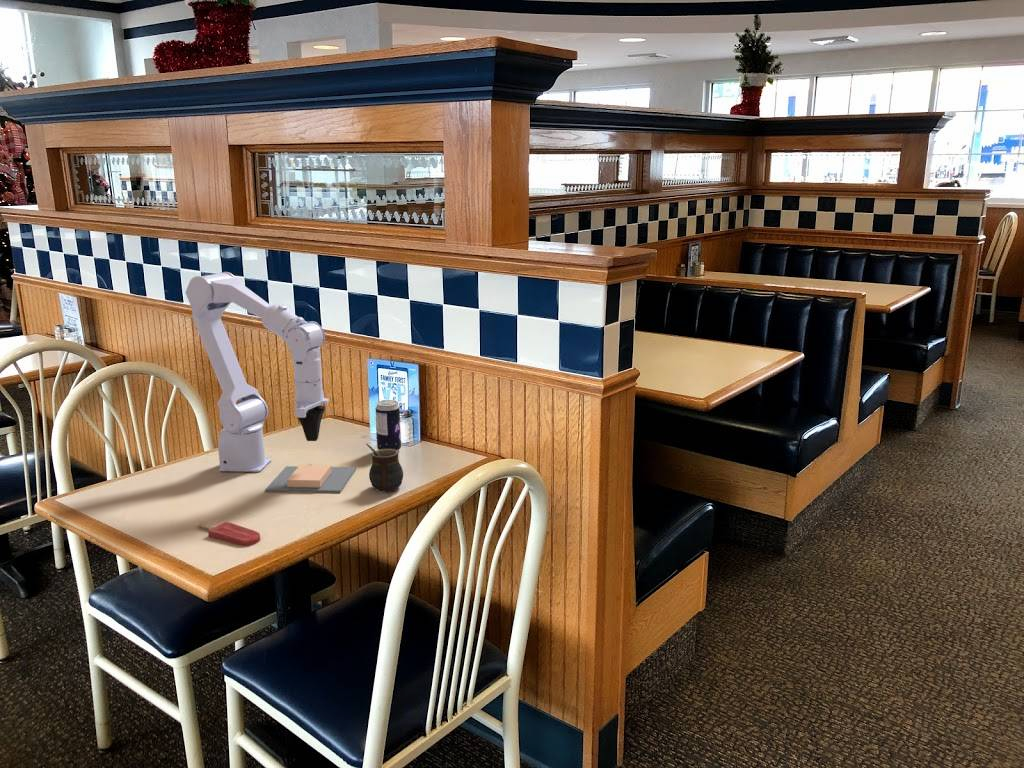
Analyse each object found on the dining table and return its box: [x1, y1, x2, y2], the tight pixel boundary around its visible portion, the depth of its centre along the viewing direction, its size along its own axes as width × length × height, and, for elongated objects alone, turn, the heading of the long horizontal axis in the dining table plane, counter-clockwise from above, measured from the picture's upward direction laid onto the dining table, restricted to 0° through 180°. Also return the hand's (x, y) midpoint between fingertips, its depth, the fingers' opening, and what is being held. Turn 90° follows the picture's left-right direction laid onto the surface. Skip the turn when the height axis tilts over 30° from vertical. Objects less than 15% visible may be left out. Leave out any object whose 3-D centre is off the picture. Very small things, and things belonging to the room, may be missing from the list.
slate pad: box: [264, 465, 357, 494], centre depth 178 cm, size 16×14×1 cm
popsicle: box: [197, 521, 261, 547], centre depth 151 cm, size 4×2×15 cm
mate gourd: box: [365, 442, 404, 493], centre depth 172 cm, size 7×8×10 cm
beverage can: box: [374, 399, 402, 452], centre depth 196 cm, size 6×6×12 cm
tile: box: [287, 464, 332, 488], centre depth 177 cm, size 7×2×9 cm
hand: (312, 440), depth 178 cm, fingers closed
